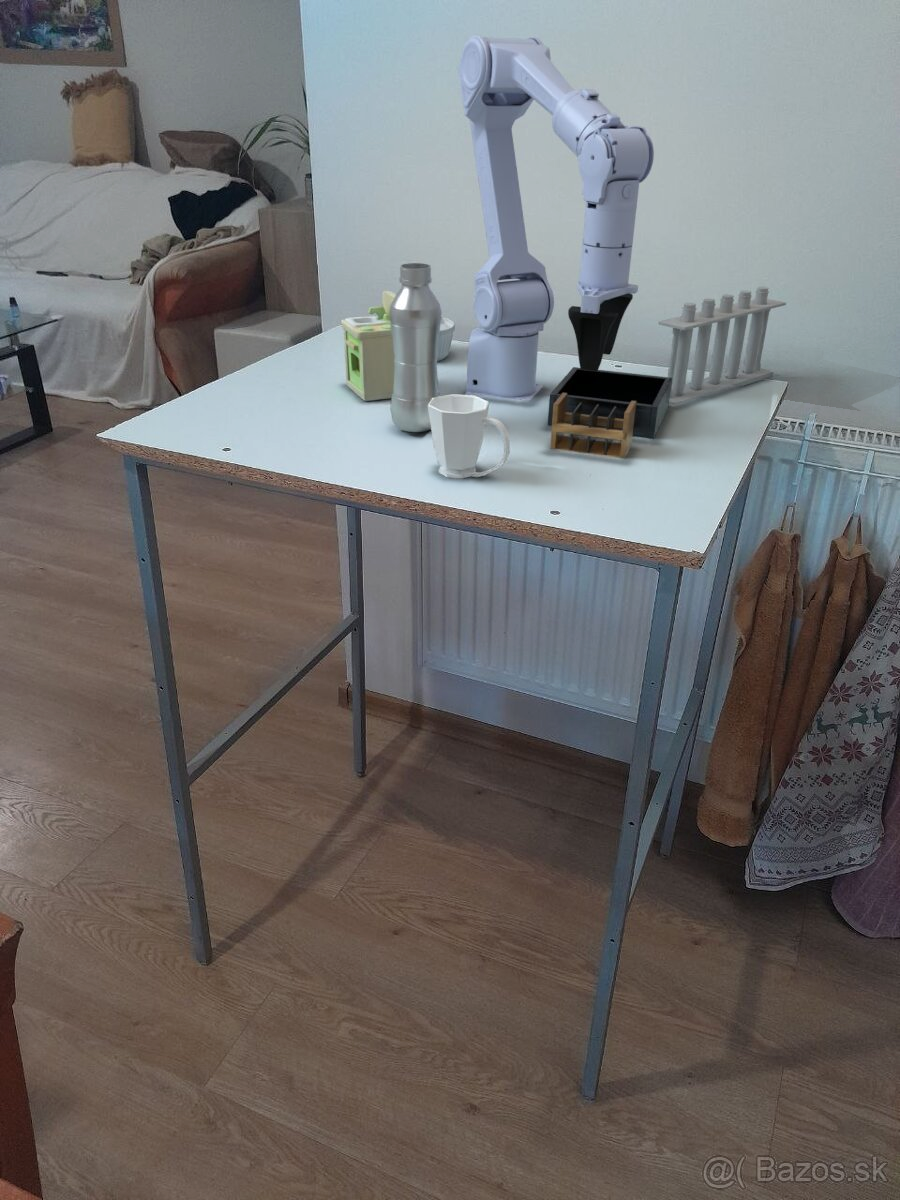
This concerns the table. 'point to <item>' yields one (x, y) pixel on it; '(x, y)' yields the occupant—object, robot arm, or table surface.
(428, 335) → the silver bottle
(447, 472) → the cup
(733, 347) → the test tube rack
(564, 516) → the table surface
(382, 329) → the toy sink
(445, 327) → the ramekin
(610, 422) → the dish rack
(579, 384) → the dark grey open box
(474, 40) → the robot arm
